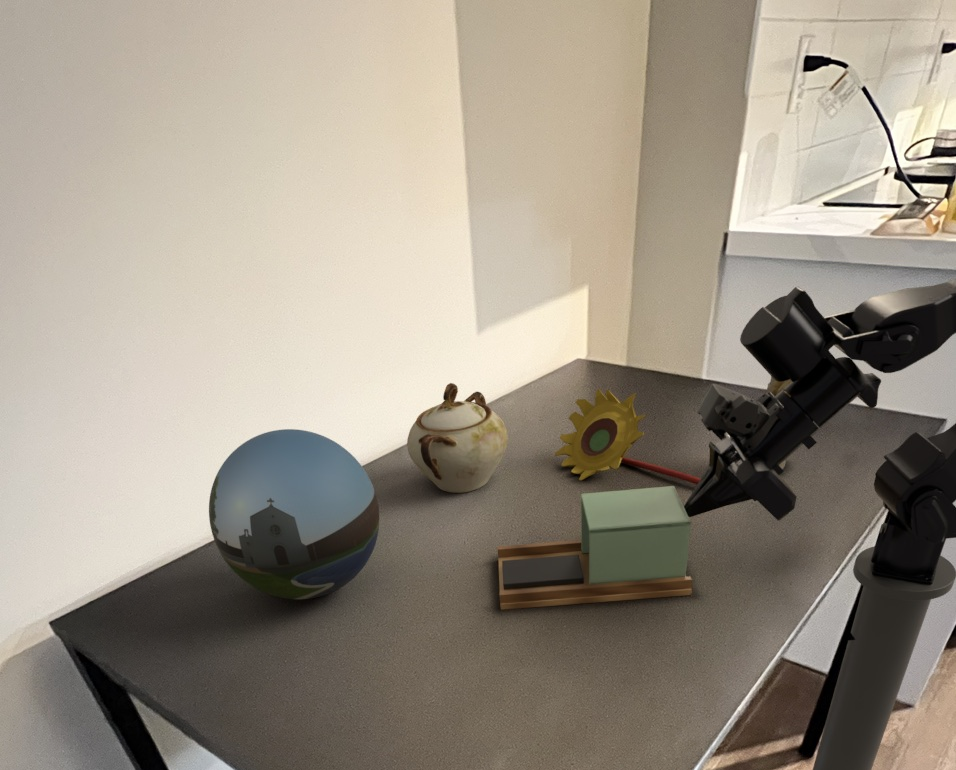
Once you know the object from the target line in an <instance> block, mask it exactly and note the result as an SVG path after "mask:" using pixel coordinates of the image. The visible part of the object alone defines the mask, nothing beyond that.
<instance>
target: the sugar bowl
mask: <svg viewBox="0 0 956 770" xmlns="http://www.w3.org/2000/svg"><path fill="white" fill-rule="evenodd" d="M458 389H459V388H458V386H457V385H456V384H455V383H453V382H450V383H448V384H447V385H446V386H445V389H444V391H443V396H442V398H443V402H442V403H440V404H438V405H437V404H436V405H435V406H432V407H430V408H428V409H426V410H423V411H422V412H421V413H420V414H419V415H418V416H417V418H416V420H415V421H414V423H413V424H412V426H411V427H410V429H409V432H408V436H407V440H406V447H407V452H408V455H409V457H410V459H411V461H412V462H413V464H414V465H415V466H416V467H417V469H419V470H420V472H421V473H422V474H423V475H424V476H426V477H427V478H428V479H429V480H430V481H431V482H432V483H433V484H434V485H436V487H437V488H438V489H440V490H441V491H444V492H447V493H453V494H454V493H457V494H459V493H468V492H469V493H470V492H472V491H475V490H478V489H480V488H482V487H484V486H485V485H486V484H487V483H488V482H489V480H490V478H491V477H492V475H493V474H494V472H495V471H496V469H497V467H498V466H499V464H500V462H501V461H502V458H503V456H504V455H505V452H506V449H507V446H508V440H509V439H508V438H509V436H508V430H507V427H506V425H505V422H504V421H503V419H502V418H501V417H500V416H499V415H498V414H497V413H496V412H495V411H493V410H492V409H491V408H490V407H489V406H488V405H487V401H486V398H485V396H484V394H483V392H481V391H474V392H473V393H471V394H470V395H469V396H468V397H467V398H466V399H464V400H456V398H457V395H458V392H459V390H458ZM473 401H474V402H473Z"/></svg>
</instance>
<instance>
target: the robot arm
mask: <svg viewBox="0 0 956 770" xmlns="http://www.w3.org/2000/svg"><path fill="white" fill-rule="evenodd" d="M955 334H956V278H953V279H951V280H949V281H946V282H942V283H937V284H933V285H927V286H926V285H925V286H918V287H908V288H903V289H898V290H895V291H891V292H886V293H883V294H879V295H875V296H872V297H869V298H867V299H866V300H865V301H863V302H861V303H860V304H858V306H857V307H855V309H851V310H847V311H843V312H838V313H833V314H830V315H826V316H824V315H823V314H822V313H821V312H820V311H819V310H818V309H817V307H816V306H815V303H814V301H813V299H812V297H811V296H810V294H808V293H807V291H806V290H804V289H803V288H801V287H800V286H795V287H794V288H793V289H791V290H790V291H789V292H788V294H786V295H783V296H780V297H778V298H776V299H774V300H773V301H771V302H770V303H769V304H767V305H765V306H762V307H761V308H759V309H758V310H757V311H756V312H755V313H754V314H753V315H752V317H750V319H749V321H748V322H747V323H746V324H745V325H744V328H743V329H742V332H741V334H740V337H739V341H740V344H741V345H742V346H743V347H744V348H745V349H746V350H747V352H748V353H750V355H751V356H752V357H753V358H754V359H755V360H756V361H757V362H758V363H759V364H760V366H762V368H763V369H764V370H765V371H766V372H767V373H768V374H769V375H770V377H771V376H772V377H773V378H774V379H775V380H776V381H778V382H782V381H786V380H789V379H790V380H791V381H792V382H791V383H789V384H788V385H787V386H786V387H785V388H784V390H785V391H786V392H787V393H788V394H789V395H790V396H791V397H790V396H789V395H788V394H787V393H786V392H785V391H784V390H782V391H781V392H780V393H779V394H777V395H776V396H774V395H773V394H772V393H771V392H764V393H763V394H762V395H760V397H758V398H757V399H756V400H755V399H753V398H750V397H748V396H746V395H745V394H742V393H740V392H737V391H735V390H733V389H730V388H727V387H725V386H722V385H719V384H717V383H712V384H711V385H710V387H709V389H708V390H707V393H706V394H705V396H704V398H703V400H702V401H701V404H700V405H699V407H698V409H697V410H696V412H697V413H696V414H698V415H700V416H701V417H702V418H701V419H700V421H701V423H702V424H703V425H704V426H703V427H705V429H706V430H707V431H708V432H712V433H713V434H714V435H715V436H716V437H717V438H718V439H719V441H718V442H717V443H716V444H714V443H713V442H712V441H709V443H708V449H709V458H708V459H709V462H708V466H707V467H706V469H705V471H704V472H703V475H702V476H701V478H700V479H701V480H700V481H699V483H698V485H697V484H696V486H695V488H694V489H693V491H692V492H691V494H690V496H689V497H688V499H687V501H686V502H685V504H683V506H684V508H685V510H686V513H687V515H688V517H689V518H693V517H695V516H698V515H702V514H705V513H707V512H712V511H714V510H719V509H721V508H724V507H727V506H730V505H735V504H738V503H739V504H740V503H743V502H747V501H751V500H752V501H754V502H758V503H759V504H760V505H761V506H762V507H763V508H764V509H765V510H766V511H767V512H768V513H769V514H770V515H772V517H774V519H775V520H777V521H779V522H780V521H781V520H782V519H784V518H785V517H786V516H787V515H788V514H790V513H791V512H793V510H794V509H796V504H797V503H796V502H797V495H796V494H795V492H794V491H793V490H792V488H791V487H790V486H789V484H788V483H787V482H786V481H785V479H783V478H782V477H781V476H780V475H781V474H782V473H783V472H785V470H784V468H783V469H782V468H781V467H780V464H781V463H782V462H783V461H784V460H785V459H786V460H787V459H788V458H789V457H790V456H791V455H792V454H794V453H795V452H796V451H797V450H798V449H799V448H801V447H802V446H803V445H804V446H805V448H806V449H807V450H811V448H812V447H814V446H815V445H816V444H817V443H818V442H817V440H816V439H814V438H813V436H814V435H815V434H817V433H818V432H819V431H820V430H821V429H822V428H823V427H825V426H826V425H827V424H828V423H829V422H830V421H831V420H833V419H834V418H835V417H836V416H837V415H838V414H840V413H841V412H842V411H844V409H845V408H846V407H847V406H848V405H850V404H851V403H852V402H853V401H855V400H856V399H857V398H858V399H859V400H861V401H862V402H863V403H864V404H865V405H866V406H867V407H868V408H870V409H874V408H876V407H877V406H878V399H879V389H880V385H881V383H882V379H881V378H880V377H879V376H878V375H876V374H875V373H873V372H870V373H869V372H868V373H864V372H863V371H862V369H860V367H859V366H858V365H857V364H856V363H855V361H861V362H864V363H866V365H868V366H869V367H871V368H872V369H874V370H875V371H878V372H881V373H883V374H892V373H896V372H900V371H901V372H902V371H903V370H904V369H907V368H908V367H910V366H913V365H914V364H916V363H917V362H919V361H922V360H923V359H925V358H926V357H928V356H930V355H931V354H933V353H935V352H937V351H938V350H939V349H940V348H941V347H942V346H943V345H944V344H945V343H946V342H947V341H948V340H949V339H951V337H952V336H954V335H955ZM833 347H835V348H837V350H839V351H840V352H841V353H842V354H844V355H845V356H841V357H840V356H839V357H836V358H835V355H833V354H832V353H831V351H830V349H832V348H833ZM883 458H884V460H885V461H884V462H883V463H882V464H881V465H880V466H879V467H878V468H877V469H876V471H875V474H874V475H875V477H874V482H873V489H874V491H875V493H876V495H877V496H878V497H879V498H880V500H882V505H883V507H884V508H885V509H886V510H887V511H888V512H890V514H889V516H888V520H887V522H886V523H885V522H884V523H882V524H881V526H880V528H879V530H878V534H877V537H876V542H875V544H874V546H875V548H874V552H873V555H872V559H871V562H872V563H875V564H874V567H873V570H872V574H873V575H875V576H881V577H886V578H892V579H897V580H903V581H909V582H914V583H920V584H926V585H932V584H933V582H934V577H935V573H936V568H937V564H938V561H939V558H940V555H941V556H942V552H943V549H944V546H945V543H946V540H947V539H956V505H955V504H954V503H955V502H956V422H955V423H953V424H952V425H951V427H949V428H948V429H946V430H945V431H943V432H940V433H937V434H934V435H932V436H928V437H926V436H925V435H923V433H921V432H920V431H915V432H914V433H911V434H910V435H909V436H908V437H907V438H906V439H905V440H904V441H903V442H902V444H900V445H899V447H897V448H896V449H895V450H893V451H891V452H889V453H887V454H885V455H884V456H883Z"/></svg>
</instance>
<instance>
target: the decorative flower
mask: <svg viewBox="0 0 956 770" xmlns="http://www.w3.org/2000/svg"><path fill="white" fill-rule="evenodd" d="M636 395H637V393H635V392H634V393H633V394H631V395H630V396H628V397H627V398H626V399H624V400H623V401H619V399H618V398H617V397H616V396H615V395H614V394H613V393H612V392H611V391H610V390H609V389H606V390H605V394H603V392H602V390H600V389H599V388H598V389H597V390H595V396H594V405H593V403H591V402H590V401H588V400H587V399H586V398H578V399H576V401H575V404H576V405H577V406H578V407H579V409H580V412H581V413H582V414H580V413H578V412H577V411H574V412H572V413H571V414H570V415H569V417H568V420H570V422H571V423H572V425H573V426H574V428H575V431H574V432H571V433H567V434H563V433H562V434H560V435H559V439H560V440H561V441H562V442H563V443H565V445H563V446H562V447H561V448H559V449H558V450H556V451H555V452H554V457H557V456H563V455H565V456H567V457H566V458H565V459H564V460H563V461H562V463H561V464H560V465H561V467H573V468H572V469H571V471H570V472H571V473H572V474H574V475H575V474H577V475H580V477H579V478H578V481H583V480H585V479H586V478H588V477H590V476H592V475H594V474H598V473H600V472H604V471H607V470H609V469H613V470H617V469H619V467H620V465H621V463H622V464H624V465H628V466H631V467H636V468H639V469H643V470H647V471H651V472H654V473H658V474H661V475H665V476H668V477H672V478H676V479H678V480H682V481H685V482H688V483H691V484H695V485H696V486H697V485H698V483H699V481H700V480H701V478H700V477H697V476H694V475H691V474H688V473H684V472H681V471H677V470H673V469H671V468H666V467H663V466H659V465H657V464H656V465H655V464H651V463H648V462H645V461H641V460H637V459H632V458H629V457H625V455H626V454H627V453H628V451H629V450H630V449H631V447H632V446H633V445H634V444H635V443H636V442H637V441H638V440H639V439H641V438H642V437H644V434H645V431H639V430H638V427H639V422H640V421H642V420H643V419H644V418H645V417H646V416H647V414H641V415H640V414H639V415H637V414H636V410H635V408H634V399H635V398H636Z"/></svg>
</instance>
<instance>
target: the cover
mask: <svg viewBox="0 0 956 770" xmlns="http://www.w3.org/2000/svg"><path fill="white" fill-rule="evenodd" d="M691 524H692V521H691V519H690V517H688V515H687V513H686V510H685V508H684V504H683V502H682V500H681V498H680V496H679V493H678V491H677V489H676V487H675V485H669V486H667V485H666V486H656V487H645V488H644V487H643V488H635V489H634V488H632V489H621V490H611V491H610V490H609V491H599V492H598V491H597V492H587V493H580V534H581V535H580V538H581V539H580V540H581V552H582V553H589V584H599V583H612V582H624V581H637V580H649V579H662V578H674V577H685V576H686V577H687V575H686V574H687V565H688V556H689V555H688V554H689V544H690V534H691Z"/></svg>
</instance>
